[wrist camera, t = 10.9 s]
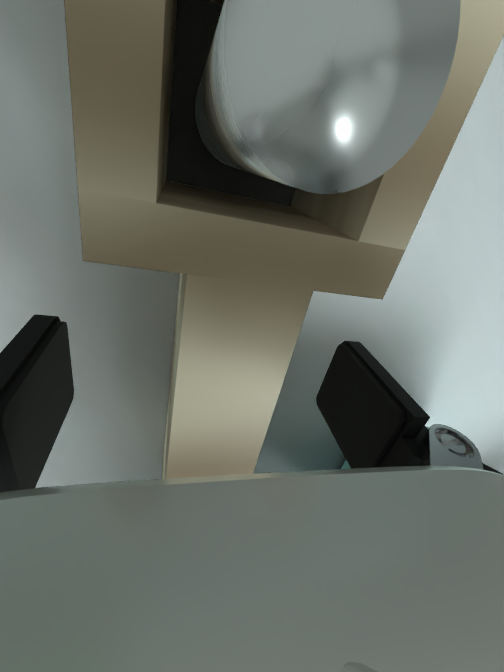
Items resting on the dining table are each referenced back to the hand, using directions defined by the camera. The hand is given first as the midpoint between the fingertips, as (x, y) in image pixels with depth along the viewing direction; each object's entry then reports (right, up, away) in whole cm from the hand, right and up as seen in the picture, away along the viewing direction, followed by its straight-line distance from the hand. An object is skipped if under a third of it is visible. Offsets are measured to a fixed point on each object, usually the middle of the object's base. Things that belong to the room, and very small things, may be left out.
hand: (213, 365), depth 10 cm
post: (+1, +8, -1) cm, 8 cm away
